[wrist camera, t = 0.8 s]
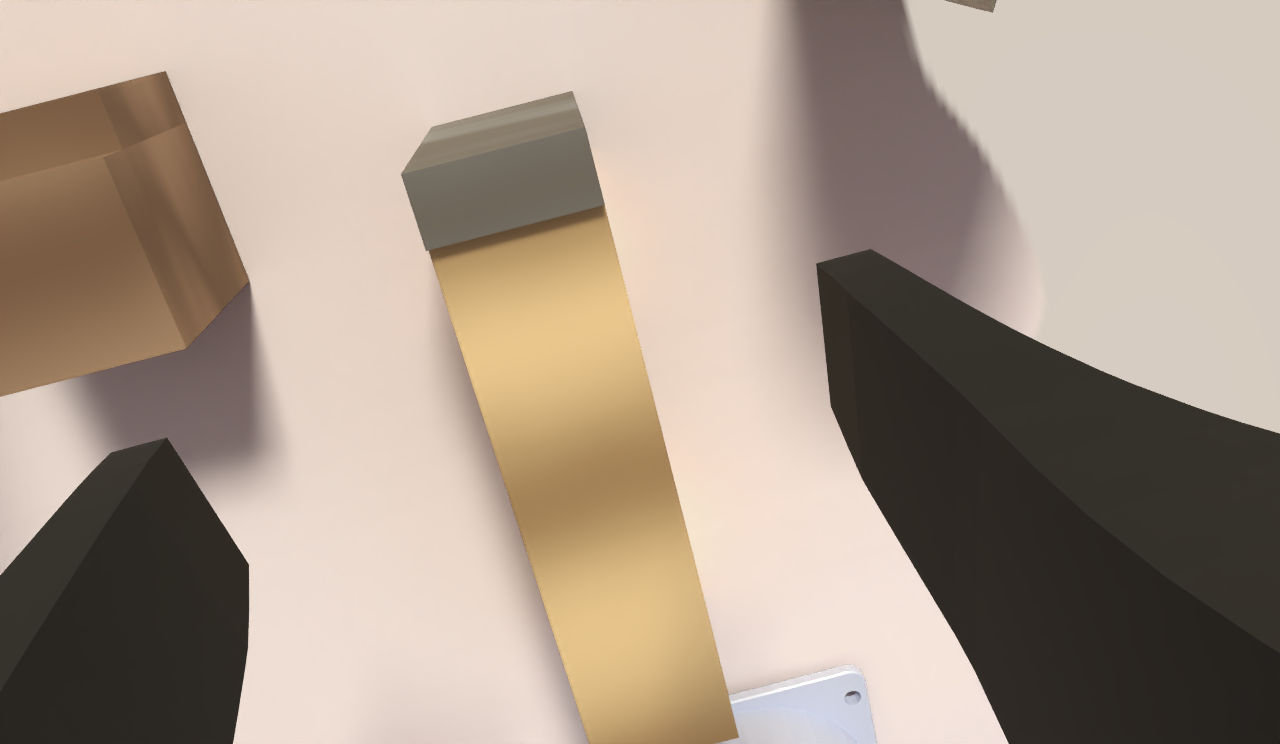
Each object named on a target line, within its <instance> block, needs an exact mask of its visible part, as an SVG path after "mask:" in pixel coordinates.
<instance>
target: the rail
mask: <svg viewBox="0 0 1280 744" xmlns="http://www.w3.org/2000/svg"><path fill="white" fill-rule="evenodd" d="M401 175H402V179H403V182H404V185H405V188H406V191H407V194H408V197H409V200H410V203H411V206H412V209H413V212H414V215H415V218H416V221H417V224H418V228H419V231H420V234H421V237H422V240H423V243H424V246H425V249H426V251H428V250H429V253H430V256H431V259H432V262H433V265H434V268H435V271H436V274H437V277H438V280H439V283H440V287H441V290H442V293H443V296H444V299H445V302H446V305H447V308H448V311H449V314H450V317H451V320H452V323H453V326H454V330H455V333H456V336H457V339H458V342H459V345H460V348H461V351H462V354H463V357H464V360H465V363H466V366H467V369H468V373H469V376H470V379H471V382H472V385H473V388H474V391H475V394H476V397H477V400H478V403H479V406H480V409H481V412H482V416H483V419H484V422H485V425H486V428H487V431H488V434H489V437H490V440H491V443H492V446H493V449H494V452H495V456H496V459H497V462H498V465H499V468H500V471H501V474H502V477H503V480H504V483H505V486H506V489H507V492H508V495H509V499H510V502H511V505H512V508H513V511H514V514H515V517H516V520H517V523H518V526H519V529H520V532H521V535H522V538H523V542H524V545H525V548H526V551H527V554H528V557H529V560H530V563H531V566H532V569H533V572H534V575H535V578H536V581H537V585H538V588H539V591H540V594H541V597H542V600H543V603H544V606H545V609H546V612H547V615H548V618H549V621H550V624H551V628H552V631H553V634H554V637H555V640H556V643H557V646H558V649H559V652H560V655H561V658H562V661H563V664H564V667H565V671H566V674H567V677H568V680H569V683H570V686H571V689H572V692H573V695H574V698H575V701H576V704H577V707H578V710H579V714H580V717H581V720H582V723H583V726H584V729H585V732H586V735H587V738H588V741H589V744H716V743H720V742H724V741H728V740H732V739H735V738H739V735H738V731H737V727H736V723H735V719H734V715H733V711H732V707H731V703H730V699H729V695H728V691H727V687H726V683H725V680H724V676H723V672H722V668H721V664H720V660H719V656H718V652H717V648H716V644H715V640H714V636H713V632H712V628H711V624H710V620H709V616H708V612H707V608H706V604H705V600H704V596H703V593H702V589H701V585H700V581H699V577H698V573H697V569H696V565H695V561H694V557H693V553H692V549H691V545H690V541H689V537H688V533H687V529H686V525H685V521H684V517H683V513H682V509H681V506H680V502H679V498H678V494H677V490H676V486H675V482H674V478H673V474H672V470H671V466H670V462H669V458H668V454H667V450H666V446H665V442H664V438H663V434H662V430H661V426H660V422H659V419H658V415H657V411H656V407H655V403H654V399H653V395H652V391H651V387H650V383H649V379H648V375H647V371H646V367H645V363H644V359H643V355H642V351H641V347H640V343H639V339H638V335H637V332H636V328H635V324H634V320H633V316H632V312H631V308H630V304H629V300H628V296H627V292H626V288H625V284H624V280H623V276H622V272H621V268H620V264H619V260H618V256H617V252H616V248H615V244H614V241H613V237H612V233H611V229H610V225H609V221H608V217H607V213H606V209H605V204H604V200H603V196H602V192H601V188H600V184H599V180H598V176H597V172H596V168H595V164H594V161H593V157H592V153H591V149H590V145H589V141H588V137H587V133H586V129H585V126H584V123H583V120H582V117H581V114H580V112H579V109H578V106H577V103H576V101H575V98H574V95H573V92H572V91H571V92H567V93H563V94H559V95H556V96H552V97H548V98H544V99H540V100H536V101H532V102H528V103H524V104H520V105H517V106H513V107H509V108H505V109H501V110H497V111H493V112H489V113H485V114H481V115H478V116H474V117H470V118H466V119H462V120H458V121H454V122H450V123H446V124H442V125H439V126H435V127H432V128H431V129H430V131H429V132H428V134H427V135H426V137H425V138H424V140H423V141H422V143H421V145H420V146H419V148H418V149H417V151H416V152H415V154H414V155H413V157H412V158H411V160H410V161H409V163H408V164H407V166H406V167H405V169H404V170H403V172H402V174H401Z"/></svg>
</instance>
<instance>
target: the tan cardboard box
mask: <svg viewBox="0 0 1280 744" xmlns="http://www.w3.org/2000/svg"><path fill="white" fill-rule="evenodd" d="M248 282H249V279H248V276H247V274H246V271H245V269H244V266H243V264H242V261H241V259H240V256H239V254H238V251H237V249H236V246H235V244H234V241H233V239H232V236H231V234H230V231H229V229H228V226H227V224H226V221H225V219H224V216H223V214H222V211H221V209H220V206H219V204H218V201H217V199H216V197H215V194H214V192H213V189H212V187H211V184H210V182H209V179H208V177H207V174H206V172H205V169H204V167H203V164H202V162H201V159H200V157H199V154H198V152H197V149H196V147H195V144H194V142H193V139H192V137H191V134H190V132H189V129H188V127H187V124H186V122H185V119H184V117H183V114H182V112H181V109H180V107H179V104H178V102H177V99H176V97H175V94H174V92H173V89H172V87H171V84H170V82H169V79H168V77H167V74H166V72H161V73H157V74H153V75H149V76H145V77H141V78H137V79H133V80H129V81H126V82H122V83H118V84H114V85H110V86H106V87H102V88H98V89H94V90H90V91H86V92H83V93H79V94H75V95H71V96H67V97H63V98H59V99H55V100H51V101H47V102H44V103H40V104H36V105H32V106H28V107H24V108H20V109H16V110H12V111H8V112H5V113H1V114H0V397H1V396H5V395H8V394H12V393H16V392H20V391H24V390H28V389H32V388H36V387H39V386H43V385H47V384H51V383H55V382H59V381H63V380H67V379H71V378H74V377H78V376H82V375H86V374H90V373H94V372H98V371H102V370H105V369H109V368H113V367H117V366H121V365H125V364H129V363H133V362H136V361H140V360H144V359H148V358H152V357H156V356H160V355H164V354H167V353H171V352H175V351H179V350H183V349H187V348H188V346H189V345H190V344H191V343H192V342H193V341H194V340H195V339H196V338H197V337H198V336H199V335H200V334H201V332H202V331H203V330H204V329H205V328H206V327H207V326H208V325H209V324H210V323H211V322H212V321H213V320H214V318H215V317H216V316H217V315H218V314H219V313H220V312H221V311H222V310H223V309H224V308H225V307H226V306H227V304H228V303H229V302H230V301H231V300H232V299H233V298H234V297H235V296H236V295H237V294H238V293H239V292H240V290H241V289H242V288H243V287H244V286H245V285H246V284H247V283H248Z"/></svg>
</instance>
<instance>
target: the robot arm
mask: <svg viewBox="0 0 1280 744" xmlns="http://www.w3.org/2000/svg"><path fill="white" fill-rule="evenodd" d="M816 265H817V275H818V285H819V295H820V304H821V314H822V324H823V334H824V343H825V353H826V363H827V373H828V382H829V392H830V402H831V408H832V410H833V412H834V415H835V417H836V419H837V422H838V424H839V427H840V429H841V431H842V434H843V436H844V438H845V441H846V443H847V446H848V448H849V450H850V452H851V455H852V457H853V459H854V461H855V464H856V466H857V468H858V470H859V473H860V475H861V477H862V479H863V481H864V483H865V485H866V486H867V488H868V490H869V492H870V493H871V495H872V497H873V498H874V500H875V502H876V503H877V505H878V507H879V509H880V510H881V512H882V514H883V515H884V517H885V519H886V520H887V522H888V524H889V525H890V527H891V529H892V530H893V532H894V534H895V536H896V537H897V539H898V541H899V542H900V544H901V546H902V547H903V549H904V551H905V552H906V554H907V555H908V557H909V559H910V560H911V562H912V564H913V565H914V567H915V569H916V570H917V572H918V574H919V575H920V577H921V579H922V580H923V582H924V584H925V585H926V587H927V589H928V590H929V592H930V594H931V595H932V597H933V599H934V600H935V602H936V604H937V605H938V607H939V609H940V610H941V612H942V614H943V615H944V617H945V619H946V620H947V622H948V624H949V625H950V627H951V629H952V630H953V632H954V634H955V635H956V637H957V639H958V641H959V643H960V645H961V646H962V648H963V650H964V652H965V654H966V656H967V657H968V659H969V661H970V663H971V665H972V667H973V669H974V670H975V672H976V674H977V676H978V679H979V681H980V683H981V685H982V687H983V689H984V691H985V694H986V696H987V698H988V700H989V702H990V704H991V706H992V709H993V711H994V713H995V715H996V717H997V719H998V721H999V724H1000V726H1001V728H1002V730H1003V732H1004V734H1005V736H1006V739H1007V741H1008V743H1009V744H1280V434H1279V433H1275V432H1272V431H1269V430H1265V429H1262V428H1259V427H1255V426H1252V425H1248V424H1245V423H1241V422H1238V421H1235V420H1232V419H1229V418H1226V417H1223V416H1220V415H1217V414H1214V413H1210V412H1207V411H1204V410H1202V409H1199V408H1196V407H1193V406H1191V405H1188V404H1185V403H1182V402H1180V401H1177V400H1174V399H1172V398H1169V397H1166V396H1164V395H1161V394H1158V393H1155V392H1153V391H1150V390H1147V389H1145V388H1142V387H1139V386H1136V385H1134V384H1132V383H1129V382H1127V381H1124V380H1122V379H1119V378H1117V377H1115V376H1112V375H1110V374H1107V373H1105V372H1103V371H1100V370H1098V369H1096V368H1094V367H1092V366H1089V365H1087V364H1085V363H1083V362H1081V361H1078V360H1076V359H1074V358H1072V357H1070V356H1067V355H1065V354H1063V353H1061V352H1059V351H1056V350H1054V349H1052V348H1050V347H1048V346H1046V345H1044V344H1042V343H1040V342H1038V341H1036V340H1034V339H1032V338H1030V337H1028V336H1026V335H1024V334H1022V333H1020V332H1018V331H1016V330H1014V329H1012V328H1010V327H1008V326H1006V325H1004V324H1002V323H1000V322H999V321H997V320H995V319H993V318H991V317H989V316H987V315H986V314H984V313H982V312H980V311H978V310H976V309H974V308H973V307H971V306H969V305H967V304H965V303H964V302H962V301H960V300H958V299H956V298H955V297H953V296H951V295H949V294H948V293H946V292H944V291H943V290H941V289H939V288H937V287H936V286H934V285H932V284H930V283H929V282H927V281H925V280H923V279H922V278H920V277H918V276H917V275H915V274H913V273H911V272H910V271H908V270H906V269H905V268H903V267H901V266H899V265H898V264H896V263H894V262H893V261H891V260H889V259H887V258H886V257H884V256H882V255H880V254H878V253H877V252H875V251H873V250H871V249H869V250H866V251H862V252H858V253H854V254H851V255H847V256H843V257H839V258H836V259H832V260H828V261H824V262H821V263H817V264H816ZM248 628H249V564H248V563H247V561H246V559H245V558H244V556H243V555H242V553H241V552H240V550H239V549H238V547H237V545H236V544H235V542H234V541H233V539H232V538H231V536H230V535H229V533H228V531H227V530H226V528H225V527H224V525H223V524H222V522H221V521H220V519H219V518H218V516H217V514H216V513H215V511H214V510H213V508H212V507H211V505H210V504H209V502H208V500H207V499H206V497H205V496H204V494H203V493H202V491H201V490H200V488H199V487H198V485H197V483H196V482H195V480H194V479H193V477H192V476H191V474H190V473H189V471H188V469H187V468H186V466H185V465H184V463H183V462H182V460H181V459H180V457H179V455H178V454H177V452H176V451H175V449H174V448H173V446H172V445H171V443H170V442H169V440H168V438H164V439H160V440H157V441H153V442H149V443H145V444H142V445H138V446H134V447H130V448H127V449H123V450H119V451H116V452H112V453H110V454H109V455H108V456H107V457H106V458H105V459H104V460H103V461H102V462H101V463H100V464H99V465H98V466H97V467H96V468H95V469H94V470H93V471H92V472H91V473H90V474H89V475H88V477H87V478H86V479H85V480H84V481H83V482H82V483H81V484H80V485H79V486H78V487H77V489H76V490H75V491H74V492H73V493H72V494H71V495H70V496H69V498H68V499H67V500H66V501H65V502H64V503H63V504H62V505H61V507H60V508H59V509H58V510H57V511H56V512H55V513H54V515H53V516H52V517H51V518H50V519H49V520H48V521H47V523H46V524H45V525H44V526H43V527H42V528H41V530H40V531H39V532H38V533H37V534H36V535H35V537H34V538H33V539H32V540H31V541H30V542H29V543H28V545H27V546H26V547H25V548H24V549H23V550H22V551H21V553H20V554H19V555H18V556H17V557H16V558H15V559H14V561H13V562H12V563H11V564H10V565H9V566H8V567H7V569H6V570H5V571H4V572H3V573H2V574H1V575H0V744H233V740H234V734H235V728H236V722H237V716H238V710H239V703H240V697H241V691H242V684H243V678H244V672H245V665H246V658H247V651H248ZM851 691H857V692H856V693H855V694H854V695H852V696H845V695H846V694H847V693H849V692H851ZM729 699H730V703H731V707H732V711H733V715H734V719H735V723H736V727H737V731H738V735H739V738H735V739H732V740H728V741H724V742H720V743H716V744H877V738H876V733H875V728H874V722H873V717H872V712H871V706H870V701H869V696H868V690H867V685H866V680H865V678H864V676H863V674H862V671H861V669H860V668H858V667H857V666H854V665H843V666H839V667H835V668H831V669H828V670H824V671H820V672H816V673H812V674H808V675H805V676H801V677H797V678H793V679H789V680H785V681H782V682H778V683H774V684H770V685H766V686H762V687H758V688H755V689H751V690H747V691H743V692H739V693H735V694H732V695H729Z"/></svg>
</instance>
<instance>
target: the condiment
mask: <svg viewBox="0 0 1280 744" xmlns="http://www.w3.org/2000/svg"><path fill="white" fill-rule="evenodd" d="M946 1H950V2H953V3H957V4H961V5H965V6H969V7H973V8H976V9H981V10H985V11H989V12H993V10H994V7H995V3H996V0H946Z"/></svg>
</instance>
